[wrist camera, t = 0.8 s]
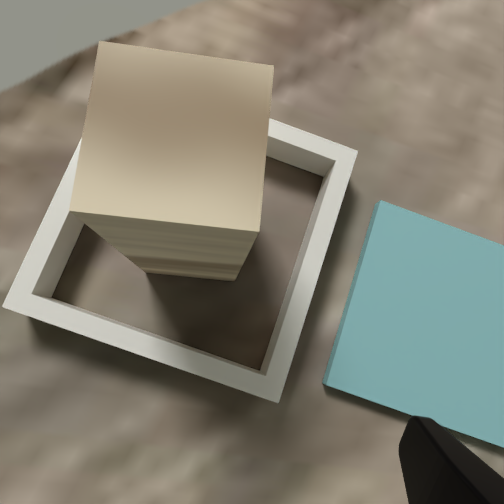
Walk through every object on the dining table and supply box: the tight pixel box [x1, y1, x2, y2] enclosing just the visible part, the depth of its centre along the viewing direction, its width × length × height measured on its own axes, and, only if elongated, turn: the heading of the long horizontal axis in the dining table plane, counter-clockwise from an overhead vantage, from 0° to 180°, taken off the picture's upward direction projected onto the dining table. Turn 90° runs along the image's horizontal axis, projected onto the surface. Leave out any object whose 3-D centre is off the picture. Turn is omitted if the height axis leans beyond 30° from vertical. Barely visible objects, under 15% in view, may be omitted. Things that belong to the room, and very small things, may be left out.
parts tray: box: [2, 118, 358, 404], centre depth 22 cm, size 14×14×2 cm
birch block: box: [69, 41, 274, 281], centre depth 17 cm, size 5×5×12 cm
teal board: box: [322, 200, 504, 448], centre depth 24 cm, size 11×11×1 cm
